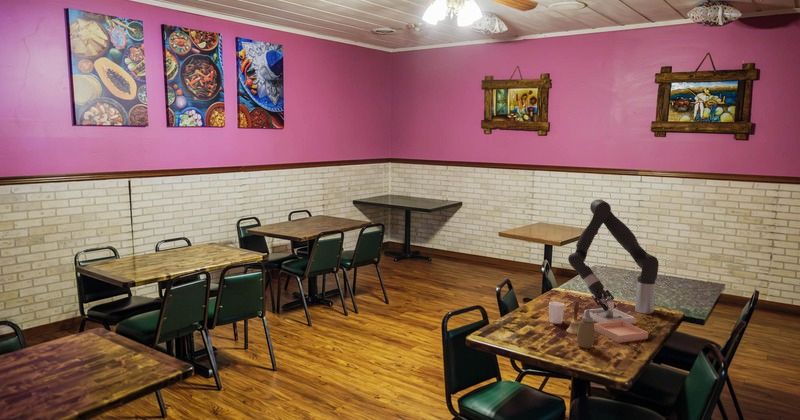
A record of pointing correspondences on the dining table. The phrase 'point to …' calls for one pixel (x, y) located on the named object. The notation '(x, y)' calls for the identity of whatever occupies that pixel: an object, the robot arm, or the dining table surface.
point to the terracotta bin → (620, 331)
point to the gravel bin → (599, 317)
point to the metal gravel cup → (609, 308)
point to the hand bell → (574, 321)
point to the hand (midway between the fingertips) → (611, 309)
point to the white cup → (556, 312)
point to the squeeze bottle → (586, 331)
